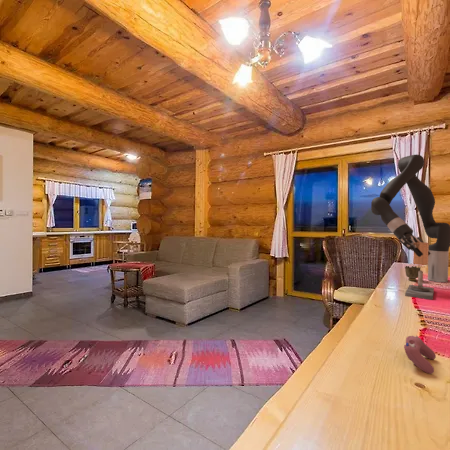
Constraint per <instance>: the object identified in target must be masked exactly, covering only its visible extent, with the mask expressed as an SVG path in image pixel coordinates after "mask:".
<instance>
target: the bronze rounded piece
mask: <svg viewBox="0 0 450 450" xmlns="http://www.w3.org/2000/svg"><path fill="white" fill-rule="evenodd" d="M404 269H405V270H404V271H405V276H406V277H407V278H408V280H409V281H410V282H416V281H417V279H418V271H420V270H422V269H421V267H419V266H418V267H417V266H414V265H411V267H410V265H405V266H404Z"/></svg>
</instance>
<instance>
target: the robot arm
mask: <svg viewBox="0 0 450 450" xmlns="http://www.w3.org/2000/svg"><path fill="white" fill-rule="evenodd" d="M424 165H425V159H424V157H423V156H422V155H421V154H412V155H407V156H403V157H401V158H400V159H399V160H398V162H397V167H398V170H399V174H398V175H396V176H395V177H394V178H392V179H391V180H390V181H389V182H388V183H387V184H386V185H384V188H383V189H382V190H381V192H380V193H379V196H377V197H374V198H373V199H372V200H371V206H370V209H371V212H372V214H374V215H376V216H380V218H381V220H382V222H383V223H384V224H385V226H387V228H388V229H389V230H390V232H391V233H392V234H393V235H394V236H395V237H396V238H397V239H398V240H399V242H400V244H402V245H403V246H404V247H405V248H406V249H407V250H409V251H410V250H411V251H412V252H413V253H414V252H415V253H416V255H417V256H418V257H421V256H422V255H423V253H422V252H421V251H420V250H419V249H418V248H417V247H416V245H415V242H424V240H423V239H422V238H421V237H420V236H417V237H416V236H415V235H413V233H414V230H413V228H411V227H410V226H409V224H408V223H406V221H404V220H403V218H401V217H400V216H399V215H398V214H397V213H396V212H395V211H394V210H393V207H392V206H391V203H392V201H393V200H394V199H395V197H396V196H397V195H398V194H399V192H400V191H401V190H402V188H403V187H404V186H405V185H407V187H408V189H409V192H410V194H411V196H412V199H413V201H414V203H415V206H416V209H417V210H418V213H419V216H420V218H421V223H422V225H423V229H424V232H425V235H426V236H427V237H429V238H430V239H436V241H435V242H434V243H432V244H430V245H429V244H428V265H427V281H432V282H436V283H437V282H438V283H448V281H449V256H450V255H449V253H450V252H449V249H450V224H449V223H448V222H436V220H435V218H434V216H433V212H434V208H435V205H436V200H435V199H436V198H435V196H434V194H433V191H432V190H431V188H430V187H429V186H428V185H426V183H424V182H423V181H422V180H420V178H419V177H418V176H417V174H418V173H419V172H420V171H421V170H422V169H423V167H424Z"/></svg>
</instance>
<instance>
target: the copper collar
mask: <svg viewBox="0 0 450 450" xmlns="http://www.w3.org/2000/svg"><path fill="white" fill-rule="evenodd" d="M415 245H416V247H417V248H418V249H419V250H420V251H421V252H422V253H423V255H422V256H421V257H418V256H417V255H416V253H415V252H414V251H413V262H412V263H413V264H415V265H421V266H422V265H423V266H428V250H429V242H424V241H423V242H415Z"/></svg>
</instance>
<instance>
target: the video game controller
mask: <svg viewBox="0 0 450 450" xmlns="http://www.w3.org/2000/svg"><path fill="white" fill-rule="evenodd" d="M403 348H404V351H405V355H406V357H407V358H408V360H409V361H411V362H412V363H413V365H414V366H416V367H417V368H418V369H420V370H421V371H422V372H425V373H426V374H429V375H432V374H434V372H435V369H434V366H433V365H432V364H431V362H430V361H429V360H435V359H436V356H437V355H436V353H435V352H434V350H433V349H432V348H431V347H429V346H428V345H427V344H426V343H425V342H424V341H423V340H422V339H421V337H418V335H416V336H415V335H409V336H407V337H406V339H405V344H404V346H403Z"/></svg>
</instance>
